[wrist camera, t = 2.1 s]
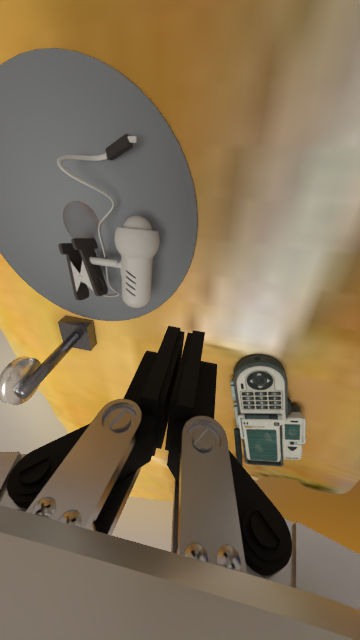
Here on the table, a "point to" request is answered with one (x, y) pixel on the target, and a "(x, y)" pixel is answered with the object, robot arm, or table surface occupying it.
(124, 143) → the clip-on lamp
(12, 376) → the square-base wall hook
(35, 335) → the table surface
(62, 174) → the mat
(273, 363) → the communication device
